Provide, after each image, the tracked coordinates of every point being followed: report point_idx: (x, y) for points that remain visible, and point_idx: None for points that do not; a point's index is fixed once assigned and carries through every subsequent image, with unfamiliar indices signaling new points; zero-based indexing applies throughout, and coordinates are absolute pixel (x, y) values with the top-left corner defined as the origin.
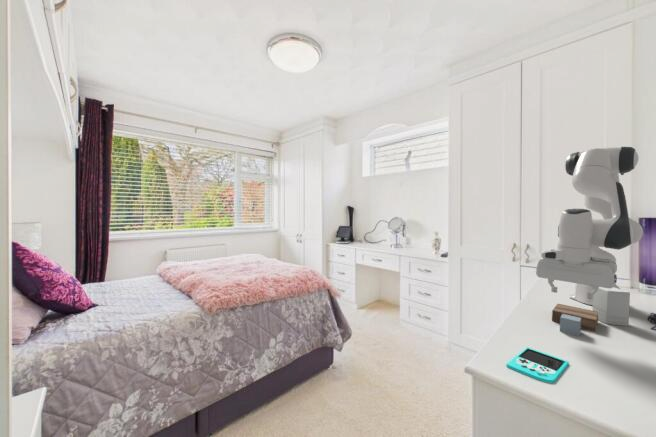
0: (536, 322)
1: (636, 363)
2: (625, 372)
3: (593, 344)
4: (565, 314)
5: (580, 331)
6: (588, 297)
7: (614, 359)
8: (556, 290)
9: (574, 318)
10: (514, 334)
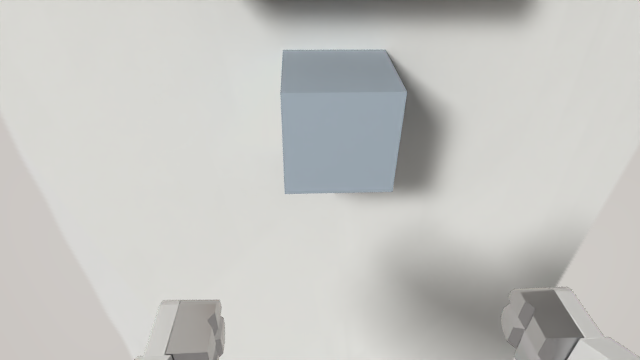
0: (143, 90)
1: (538, 259)
2: (481, 333)
3: (429, 197)
4: (301, 94)
5: (385, 52)
6: (514, 332)
7: (475, 277)
8: (217, 346)
9: (364, 146)
10: None
